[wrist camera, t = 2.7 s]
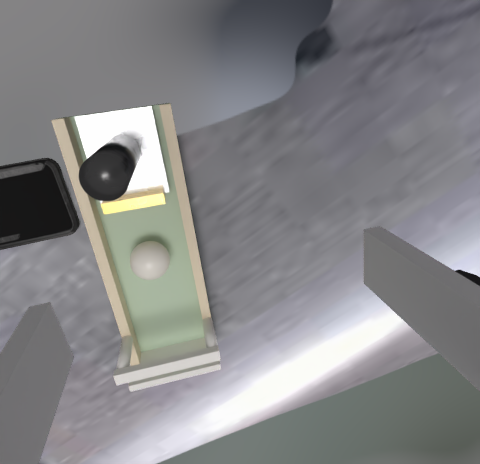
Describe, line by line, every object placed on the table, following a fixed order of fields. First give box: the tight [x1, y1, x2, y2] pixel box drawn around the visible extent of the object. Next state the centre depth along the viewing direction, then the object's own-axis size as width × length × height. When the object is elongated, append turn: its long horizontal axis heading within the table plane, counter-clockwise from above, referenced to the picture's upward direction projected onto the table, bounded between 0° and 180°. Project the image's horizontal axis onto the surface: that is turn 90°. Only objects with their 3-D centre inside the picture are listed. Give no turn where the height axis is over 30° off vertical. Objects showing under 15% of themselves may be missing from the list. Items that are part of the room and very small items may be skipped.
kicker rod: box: [75, 106, 169, 214], centre depth 27 cm, size 8×7×12 cm
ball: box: [130, 241, 170, 280], centre depth 35 cm, size 4×4×4 cm
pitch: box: [51, 103, 221, 392], centre depth 34 cm, size 28×10×9 cm, turn 7°
